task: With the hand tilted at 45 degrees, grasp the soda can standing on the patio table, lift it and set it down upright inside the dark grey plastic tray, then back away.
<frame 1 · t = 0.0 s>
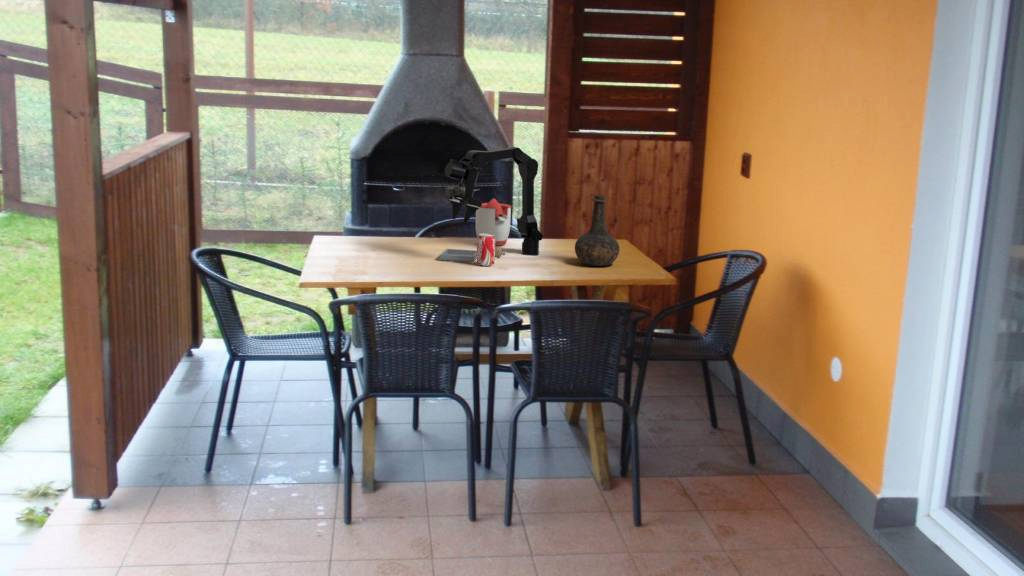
hand: (458, 220, 394), 15 cm above the table, tool pointing down, fingers open, 9 cm apart
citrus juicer: (493, 244, 434), on the table
brown block with knob: (493, 256, 407), on the table
slate tray: (459, 258, 399), on the table
glass bottle: (596, 265, 398), on the table
soda can: (485, 265, 388), on the table
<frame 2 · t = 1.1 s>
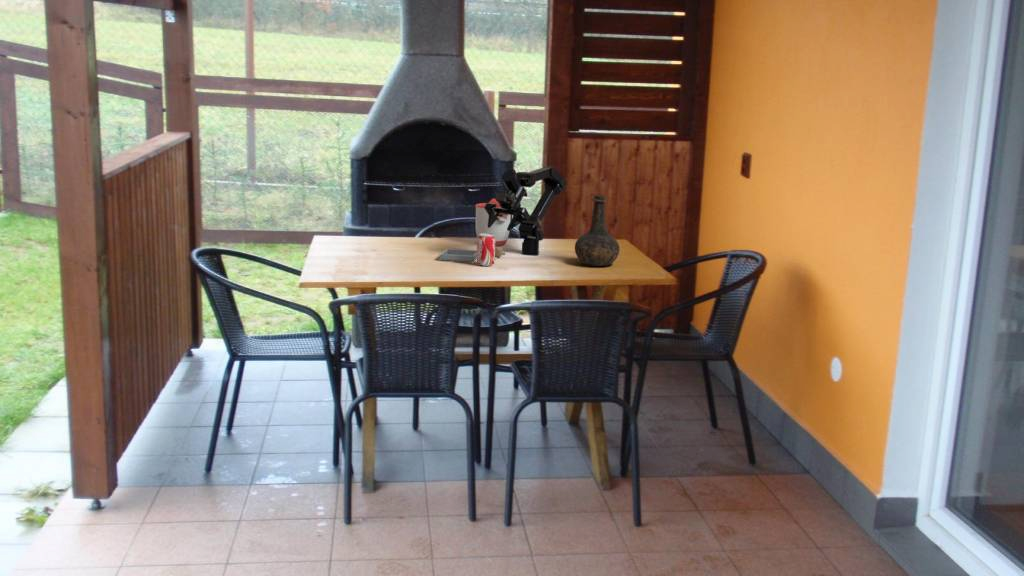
hand: (498, 228, 392), 13 cm above the table, tool tilted 45°, fingers open, 9 cm apart
nothing on the table moved.
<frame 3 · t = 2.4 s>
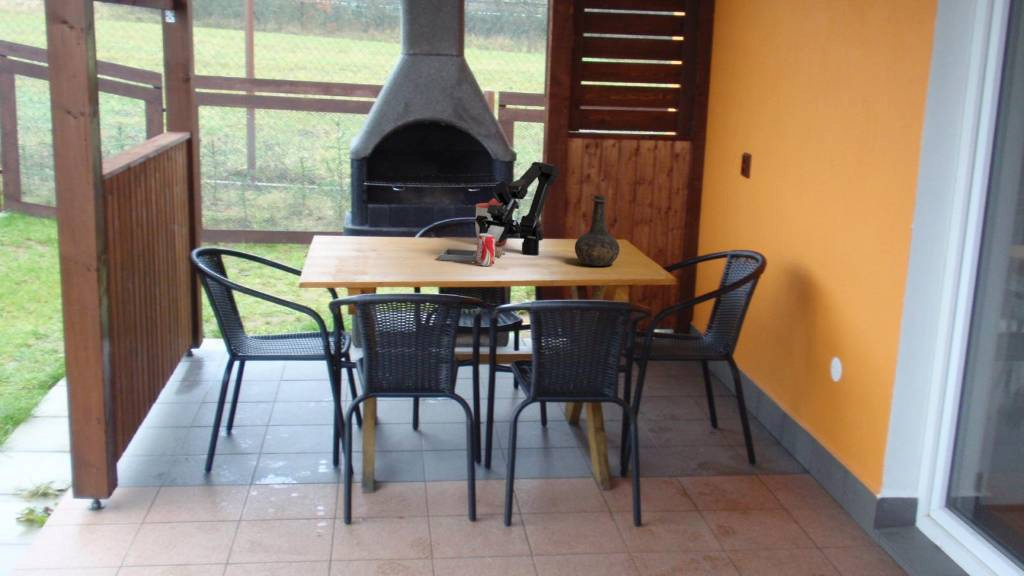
hand: (488, 241, 388), 9 cm above the table, tool tilted 45°, fingers open, 9 cm apart
nothing on the table moved.
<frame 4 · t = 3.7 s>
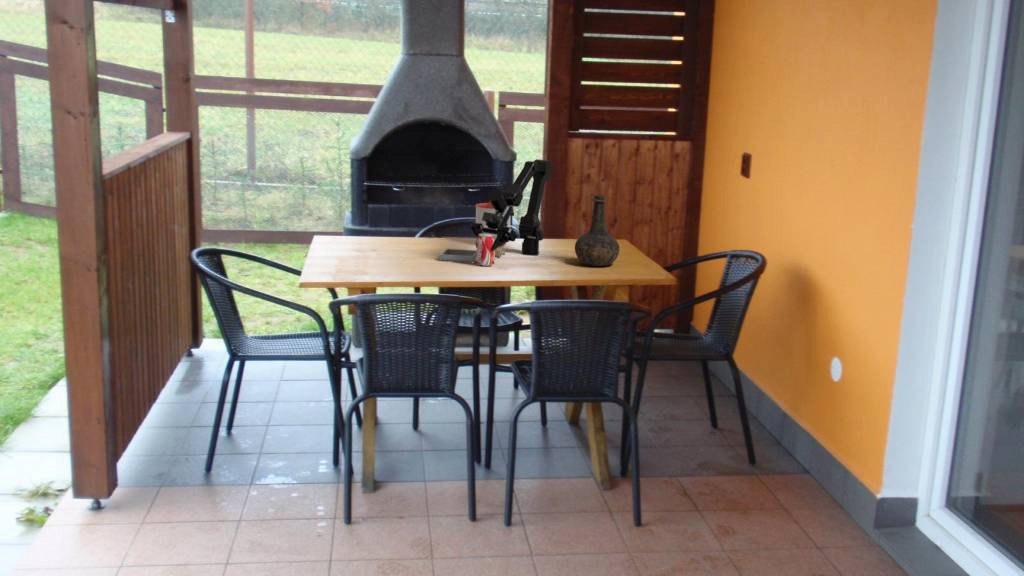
hand: (484, 248, 386), 7 cm above the table, tool tilted 45°, fingers closed on soda can, 7 cm apart
soda can: (485, 265, 388), on the table, touching gripper
everything else where it was.
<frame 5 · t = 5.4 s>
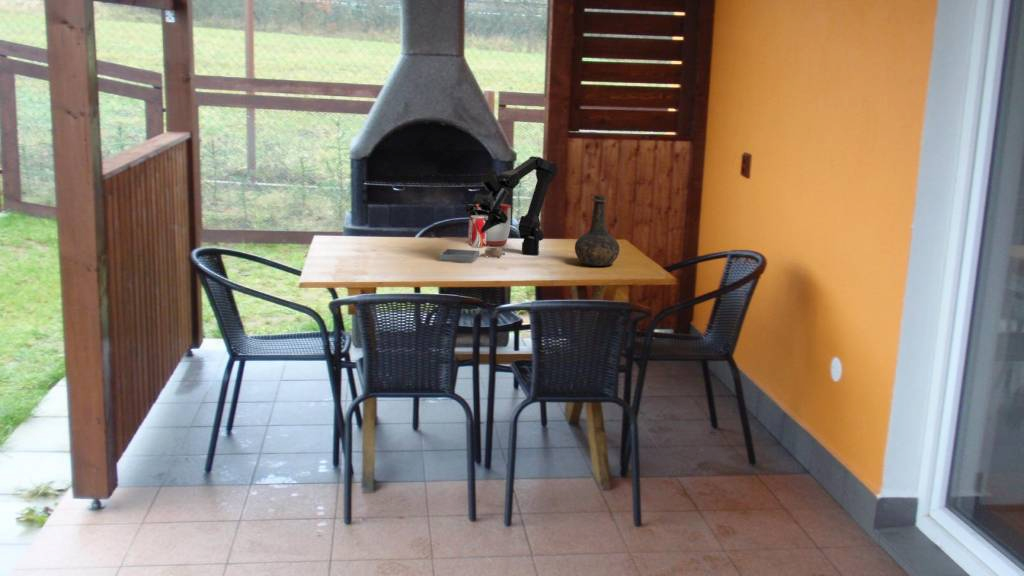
hand: (475, 230, 387), 13 cm above the table, tool tilted 45°, fingers closed on soda can, 7 cm apart
soda can: (476, 247, 390), point 6 cm above the table, touching gripper
everything else where it was.
when the fingers open (8 cm above the table, at t = 7.4 s): soda can drops 1 cm, resting on slate tray.
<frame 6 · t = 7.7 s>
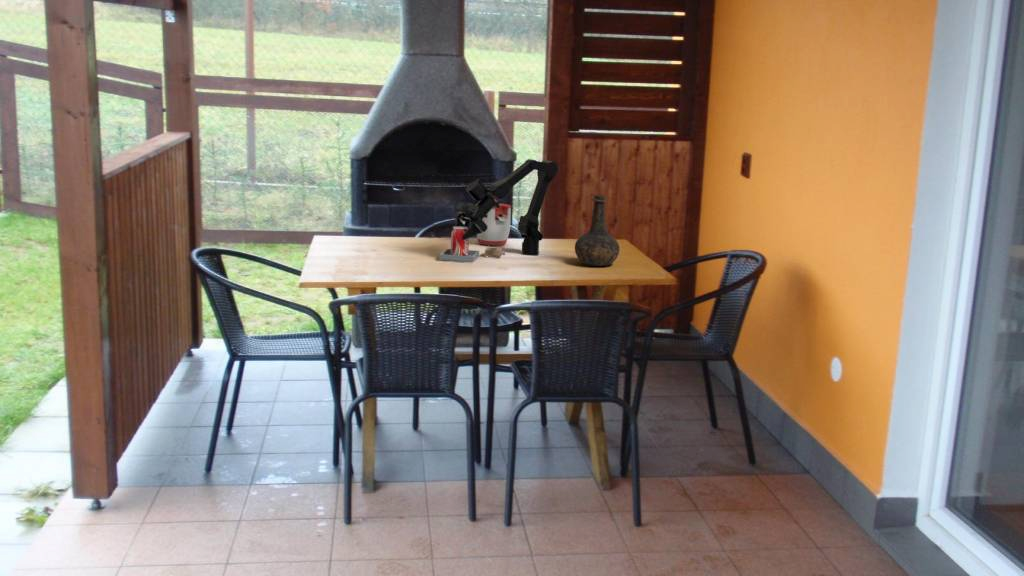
hand: (457, 237, 396), 9 cm above the table, tool tilted 45°, fingers open, 9 cm apart
soda can: (459, 257, 399), resting on slate tray
everything else where it was.
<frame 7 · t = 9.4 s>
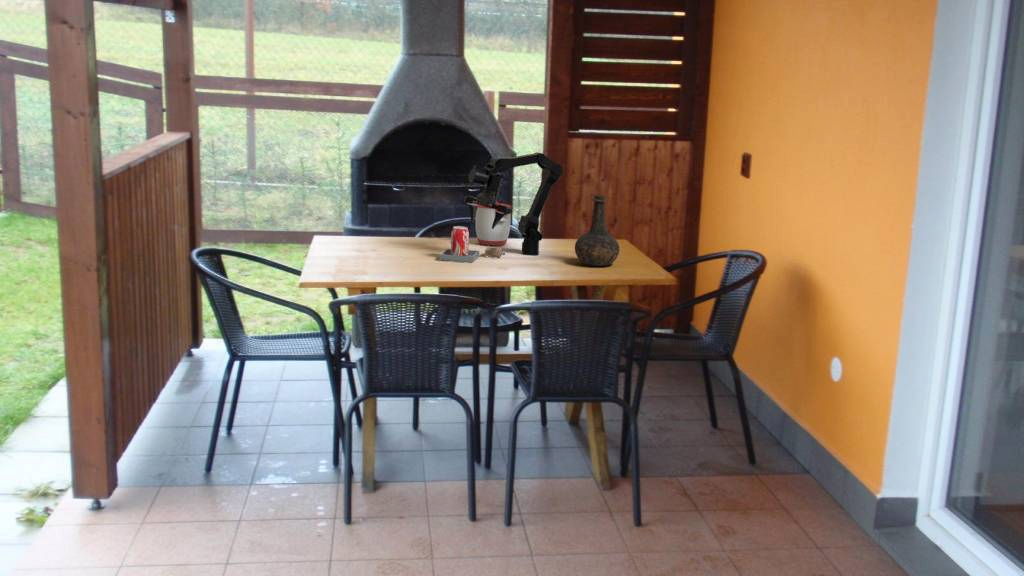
hand: (482, 225, 402), 13 cm above the table, tool pointing down, fingers open, 9 cm apart
nothing on the table moved.
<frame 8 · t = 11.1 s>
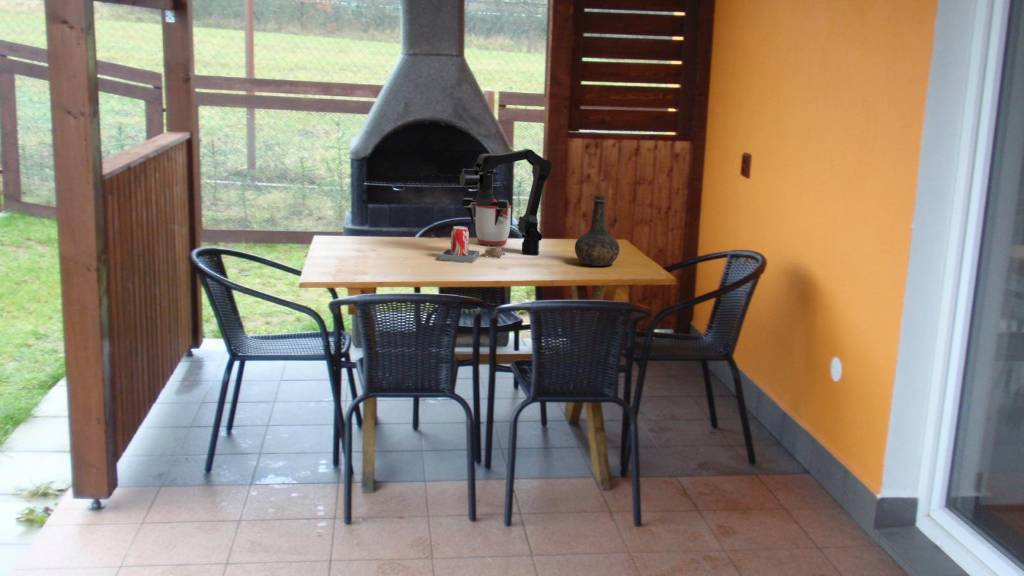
hand: (484, 224, 403), 13 cm above the table, tool pointing down, fingers open, 9 cm apart
nothing on the table moved.
at the end: soda can inside the target area on the slate tray (0.5 cm from its centre), point 0.4 cm above the slate tray's base; soda can tilted 0°; the gripper is holding nothing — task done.
